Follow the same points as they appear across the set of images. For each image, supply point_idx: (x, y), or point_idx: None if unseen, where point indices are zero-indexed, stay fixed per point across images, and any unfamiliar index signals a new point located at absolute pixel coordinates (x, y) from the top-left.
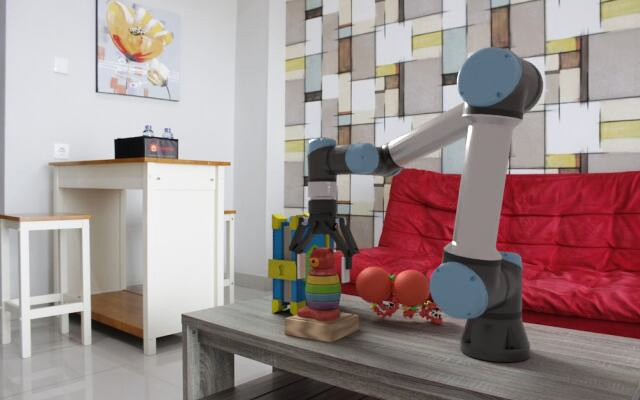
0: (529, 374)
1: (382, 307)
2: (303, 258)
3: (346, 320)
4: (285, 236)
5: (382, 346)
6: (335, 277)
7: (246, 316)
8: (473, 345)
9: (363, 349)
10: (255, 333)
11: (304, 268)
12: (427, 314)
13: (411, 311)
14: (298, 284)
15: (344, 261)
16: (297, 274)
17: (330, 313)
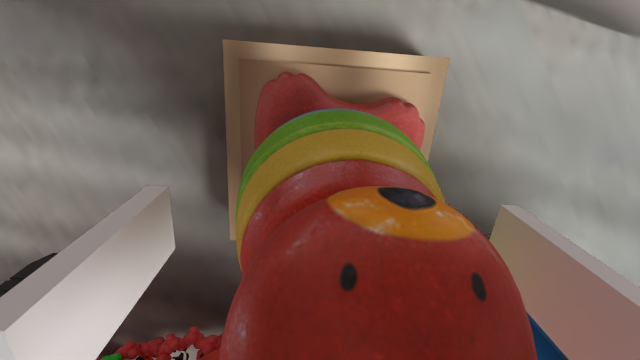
0: None
1: (207, 339)
2: (601, 356)
3: (227, 156)
4: None
5: (79, 85)
6: (236, 237)
7: (635, 194)
8: None
9: (104, 20)
10: (528, 15)
11: (525, 295)
12: None
13: (124, 350)
14: (541, 345)
15: (18, 292)
16: (538, 219)
17: (262, 115)
